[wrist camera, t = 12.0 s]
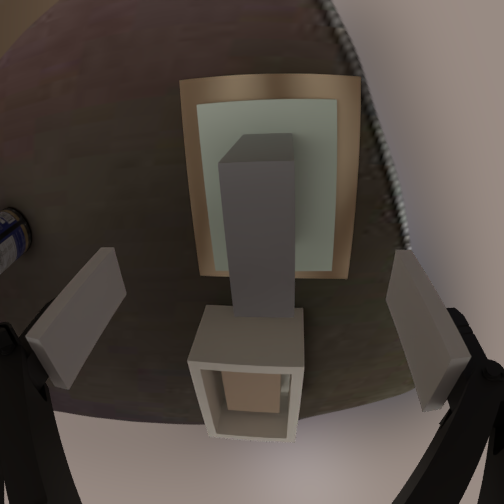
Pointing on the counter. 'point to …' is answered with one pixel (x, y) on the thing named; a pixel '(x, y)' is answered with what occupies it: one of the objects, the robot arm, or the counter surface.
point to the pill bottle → (12, 237)
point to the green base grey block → (269, 195)
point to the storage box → (248, 374)
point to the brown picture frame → (277, 88)
